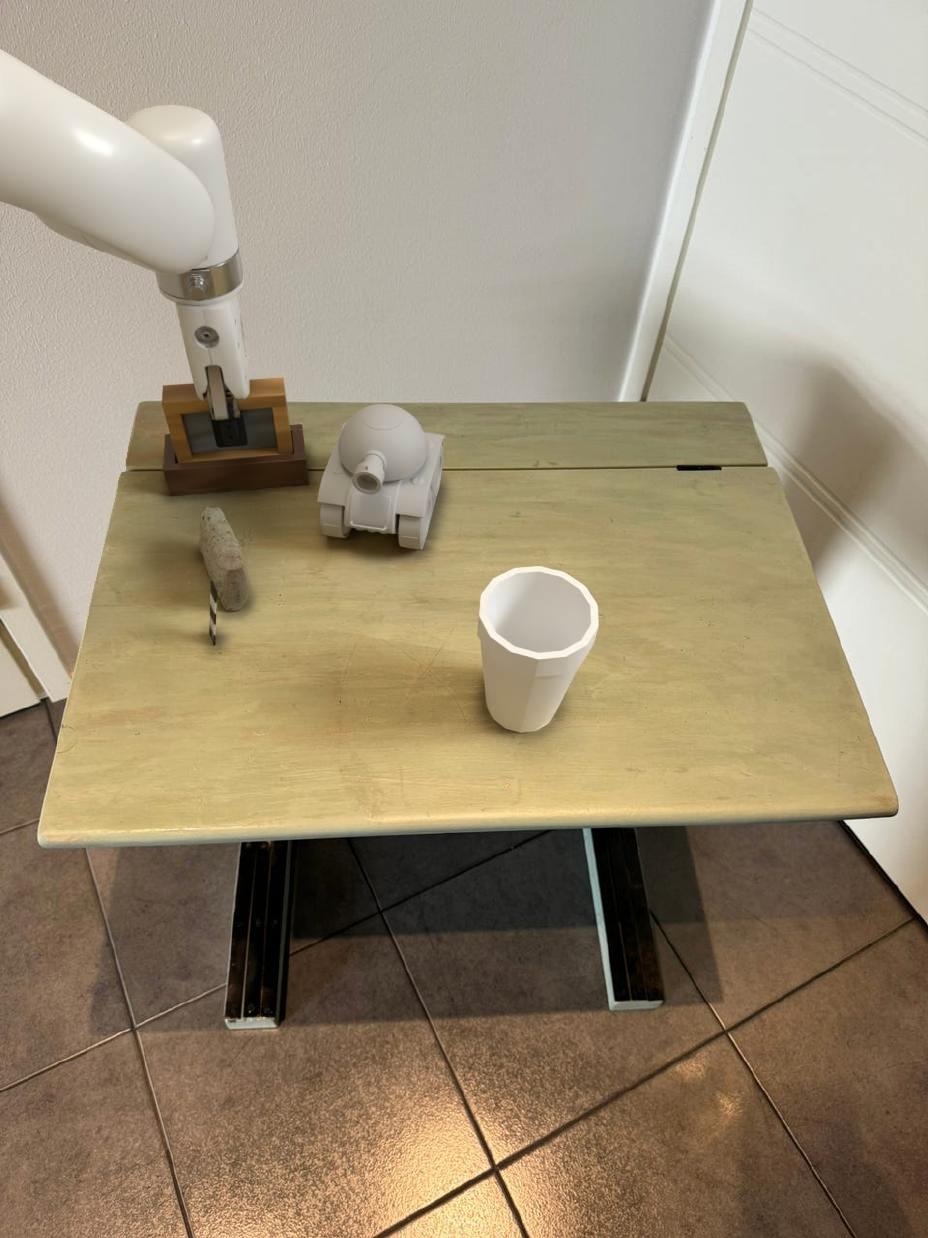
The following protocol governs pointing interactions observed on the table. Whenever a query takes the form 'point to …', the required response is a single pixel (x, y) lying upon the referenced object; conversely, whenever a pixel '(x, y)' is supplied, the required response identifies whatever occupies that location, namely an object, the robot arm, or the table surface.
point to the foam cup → (533, 643)
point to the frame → (260, 416)
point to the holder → (236, 470)
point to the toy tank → (382, 476)
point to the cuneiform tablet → (222, 564)
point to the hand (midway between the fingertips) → (232, 432)
